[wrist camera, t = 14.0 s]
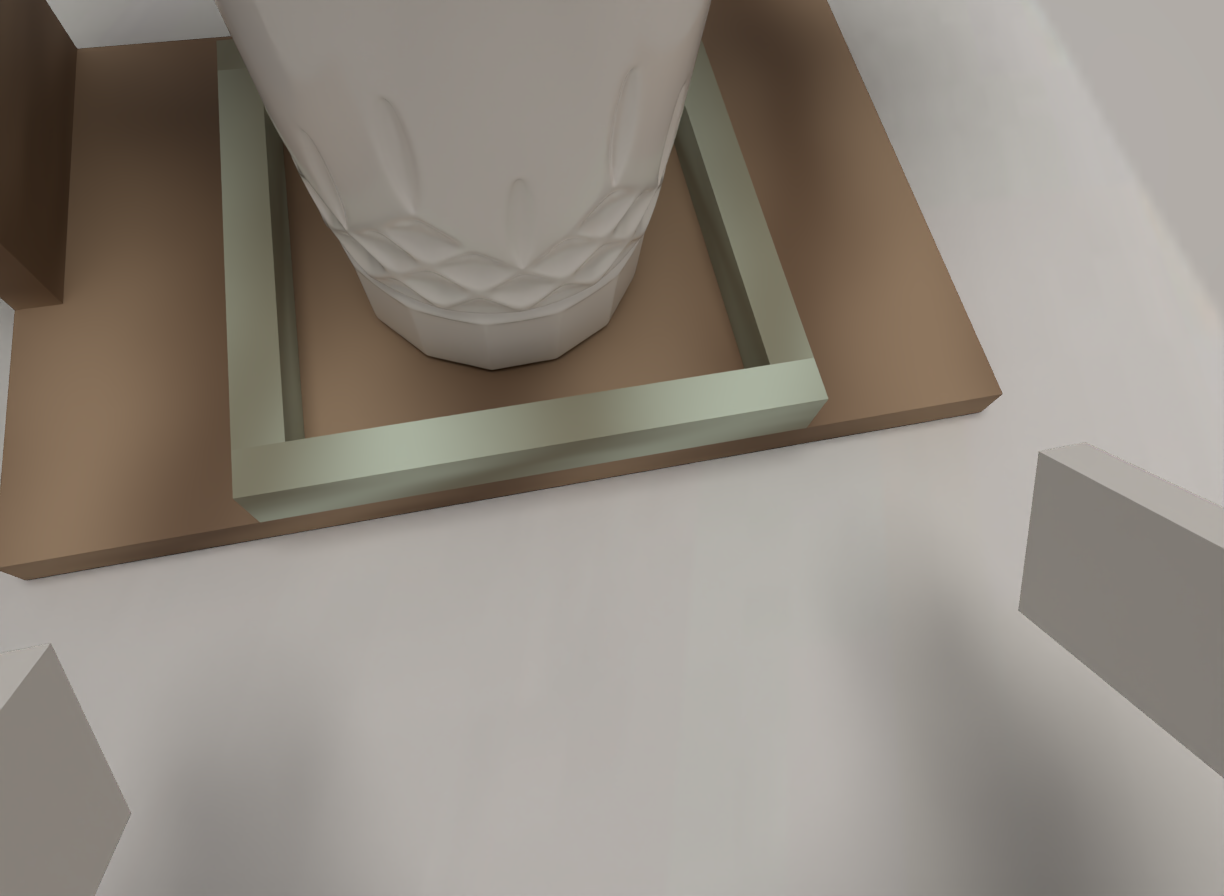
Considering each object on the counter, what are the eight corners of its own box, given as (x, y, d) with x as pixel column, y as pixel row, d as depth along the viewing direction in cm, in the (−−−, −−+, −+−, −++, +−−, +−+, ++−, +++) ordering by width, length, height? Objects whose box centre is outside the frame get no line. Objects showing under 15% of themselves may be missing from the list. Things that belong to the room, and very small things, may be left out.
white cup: (281, 352, 17) (-14, -116, 8) (392, 100, 21) (266, -444, 11) (623, 428, 17) (708, 42, 8) (682, 164, 20) (793, -332, 11)
